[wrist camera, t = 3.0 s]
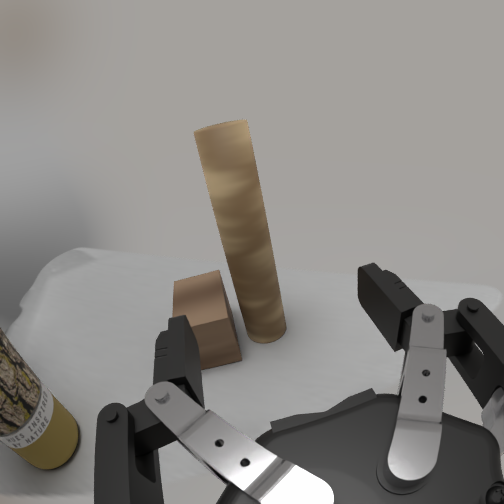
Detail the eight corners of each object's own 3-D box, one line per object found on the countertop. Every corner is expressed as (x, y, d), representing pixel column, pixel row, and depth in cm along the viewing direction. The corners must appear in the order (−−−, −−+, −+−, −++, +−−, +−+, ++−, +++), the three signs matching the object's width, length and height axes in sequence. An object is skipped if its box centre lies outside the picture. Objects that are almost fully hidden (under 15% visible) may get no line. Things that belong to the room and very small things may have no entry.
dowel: (251, 347, 26) (193, 134, 18) (244, 321, 30) (193, 130, 21) (290, 336, 27) (251, 121, 18) (280, 311, 30) (242, 118, 21)
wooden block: (242, 360, 25) (227, 317, 23) (192, 371, 25) (172, 331, 23) (231, 310, 31) (219, 269, 29) (190, 320, 31) (174, 281, 29)
